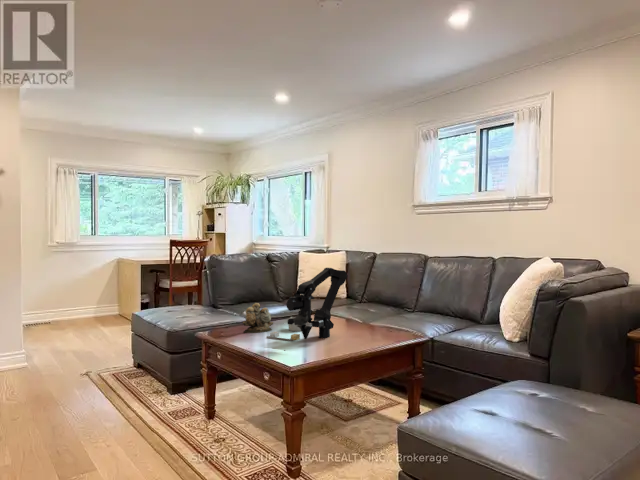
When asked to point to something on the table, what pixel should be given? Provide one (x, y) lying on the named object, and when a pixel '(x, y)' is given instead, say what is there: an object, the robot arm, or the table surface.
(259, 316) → the owl figurine
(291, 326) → the grey rounded container
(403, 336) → the table surface
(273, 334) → the block
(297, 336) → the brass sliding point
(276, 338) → the plate
